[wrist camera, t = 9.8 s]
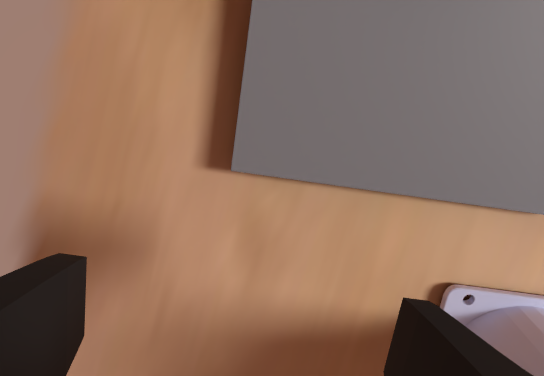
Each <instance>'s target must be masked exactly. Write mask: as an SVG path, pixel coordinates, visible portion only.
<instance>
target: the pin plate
mask: <svg viewBox="0 0 544 376" xmlns="http://www.w3.org/2000/svg"><path fill="white" fill-rule="evenodd" d="M231 171H237V172H244V173H251V174H258V175H265V176H272V177H279V178H286V179H293V180H301V181H308V182H315V183H322V184H329V185H336V186H343V187H350V188H358V189H365V190H372V191H379V192H386V193H393V194H400V195H407V196H414V197H422V198H429V199H436V200H443V201H450V202H457V203H464V204H471V205H479V206H486V207H493V208H500V209H507V210H514V211H521V212H528V213H535V214H543V215H544V0H252V7H251V15H250V23H249V31H248V39H247V47H246V55H245V63H244V71H243V79H242V87H241V94H240V102H239V110H238V118H237V126H236V134H235V142H234V150H233V158H232V166H231Z"/></svg>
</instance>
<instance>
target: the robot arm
mask: <svg viewBox="0 0 544 376" xmlns="http://www.w3.org/2000/svg"><path fill="white" fill-rule="evenodd" d="M86 262H87V257H84V256H76V255H68V254H60V253H58V254H55V255H52V256H49V257H46V258H44V259H41V260H39V261H36V262H34V263H32V264H29V265H27V266H24V267H22V268H20V269H18V270H15V271H13V272H11V273H8V274H6V275H4V276H2V277H0V376H66V374H67V372H68V370H69V368H70V366H71V364H72V362H73V360H74V357H75V355H76V353H77V351H78V348H79V346H80V344H81V342H82V339H83V337H84V326H85V294H86ZM466 295H471V297H470V298H469V299H468V300H463V298H464V297H465V296H466ZM384 376H544V296H542V295H534V294H527V293H519V292H512V291H504V290H496V289H489V288H481V287H473V286H466V285H458V284H457V285H451V286H449V287H448V288H447V289H446V290H445V292H444V294H443V298H442V301H441V304H440V307H438V306H437V305H435V304H433V303H432V302H430V301H425V300H417V299H409V298H403V300H402V304H401V307H400V311H399V315H398V319H397V323H396V326H395V330H394V334H393V338H392V341H391V345H390V349H389V353H388V357H387V360H386V364H385V368H384Z"/></svg>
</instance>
